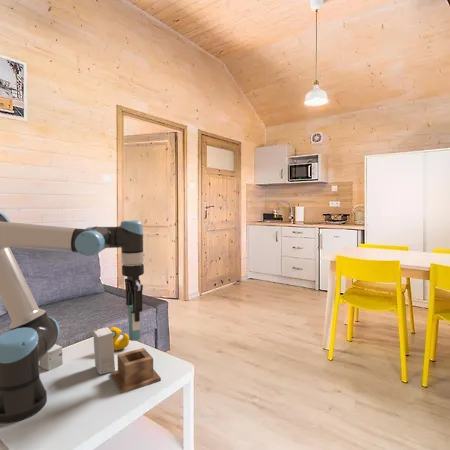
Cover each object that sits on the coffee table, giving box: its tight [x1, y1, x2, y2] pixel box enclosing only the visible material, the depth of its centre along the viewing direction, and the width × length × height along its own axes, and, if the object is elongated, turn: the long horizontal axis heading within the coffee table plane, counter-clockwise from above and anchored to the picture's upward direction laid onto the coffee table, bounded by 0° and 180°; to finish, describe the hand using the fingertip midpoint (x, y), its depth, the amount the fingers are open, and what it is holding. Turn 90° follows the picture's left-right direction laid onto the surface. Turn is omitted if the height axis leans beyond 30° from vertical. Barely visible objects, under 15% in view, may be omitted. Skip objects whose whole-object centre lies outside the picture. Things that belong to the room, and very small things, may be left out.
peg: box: [127, 305, 142, 342], centre depth 118 cm, size 4×4×12 cm
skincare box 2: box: [92, 326, 116, 376], centre depth 126 cm, size 8×6×15 cm
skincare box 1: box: [39, 343, 64, 372], centre depth 128 cm, size 6×6×7 cm
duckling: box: [109, 326, 130, 352], centre depth 142 cm, size 11×5×10 cm, turn 105°
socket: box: [110, 347, 162, 394], centre depth 119 cm, size 14×14×8 cm
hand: (134, 327), depth 118 cm, fingers closed on peg, 4 cm apart
